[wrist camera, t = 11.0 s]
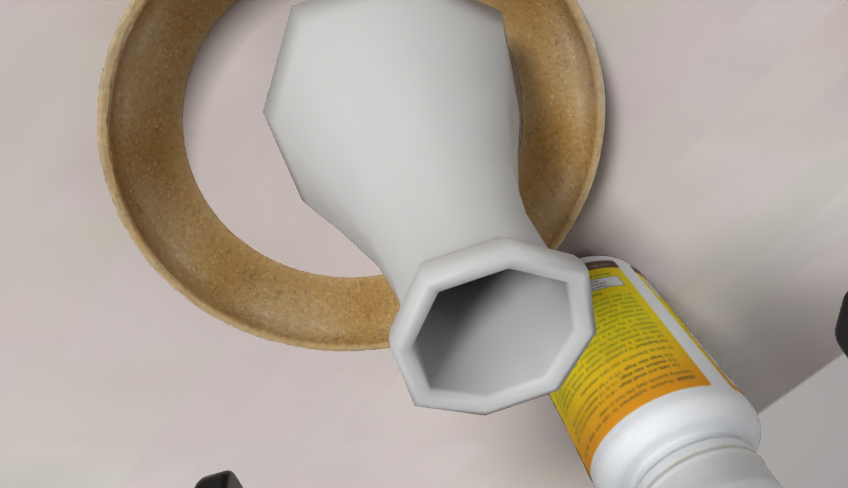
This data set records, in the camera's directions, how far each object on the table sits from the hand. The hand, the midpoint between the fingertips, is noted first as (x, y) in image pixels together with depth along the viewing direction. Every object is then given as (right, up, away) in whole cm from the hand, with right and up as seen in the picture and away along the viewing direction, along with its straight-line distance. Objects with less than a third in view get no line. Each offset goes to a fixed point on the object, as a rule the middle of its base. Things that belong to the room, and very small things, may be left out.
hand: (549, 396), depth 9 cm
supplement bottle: (+5, 0, +17) cm, 18 cm away
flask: (-3, +6, +9) cm, 11 cm away
